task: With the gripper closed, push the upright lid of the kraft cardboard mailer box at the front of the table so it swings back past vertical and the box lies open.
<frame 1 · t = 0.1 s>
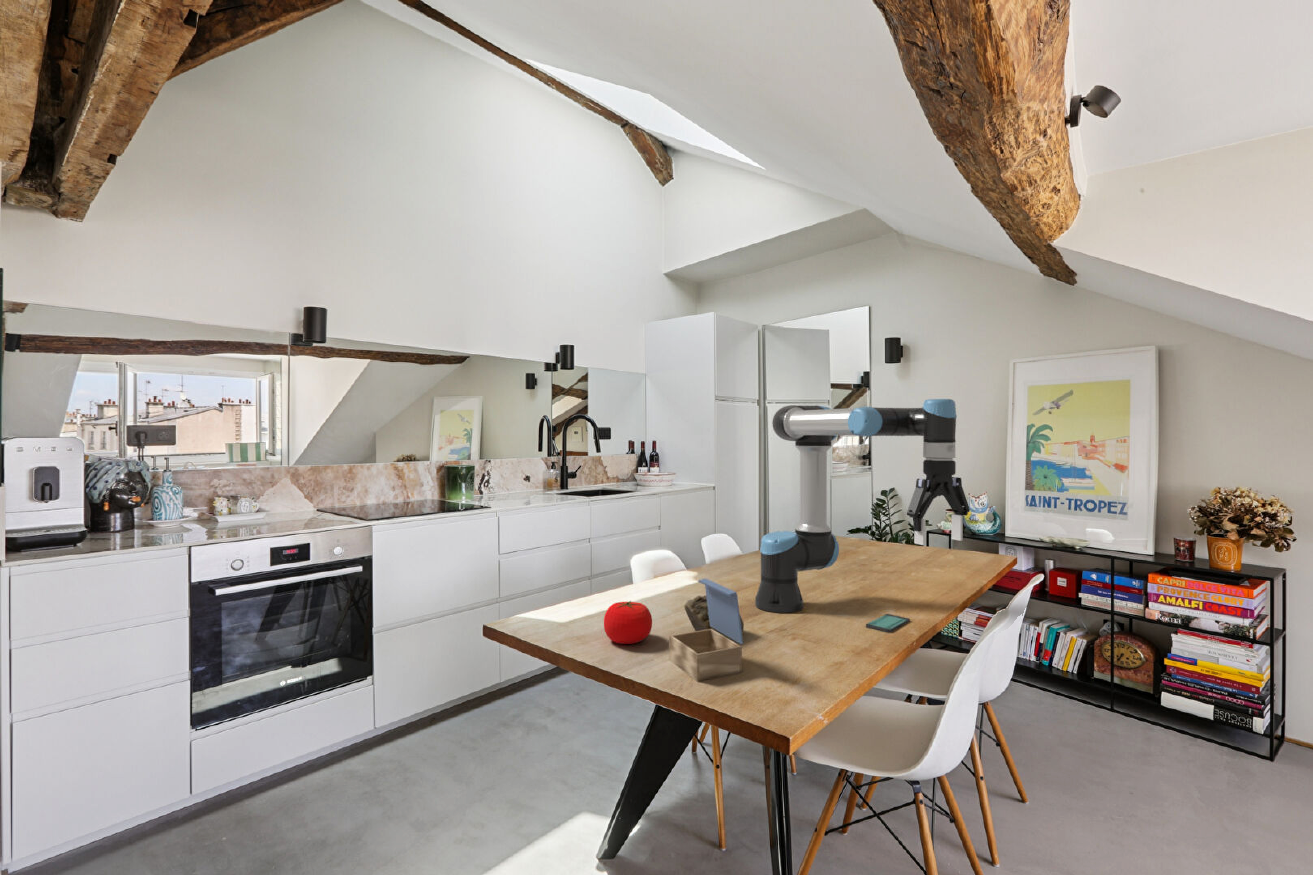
hand: (938, 542, 154), 28 cm above the table, fingers open, 13 cm apart
smartphone: (887, 625, 175), on the table
stone: (716, 637, 164), on the table
lid: (719, 610, 146), point 13 cm above the table, hinge at 82.0°
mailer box: (704, 665, 144), on the table
tomato: (627, 641, 162), on the table
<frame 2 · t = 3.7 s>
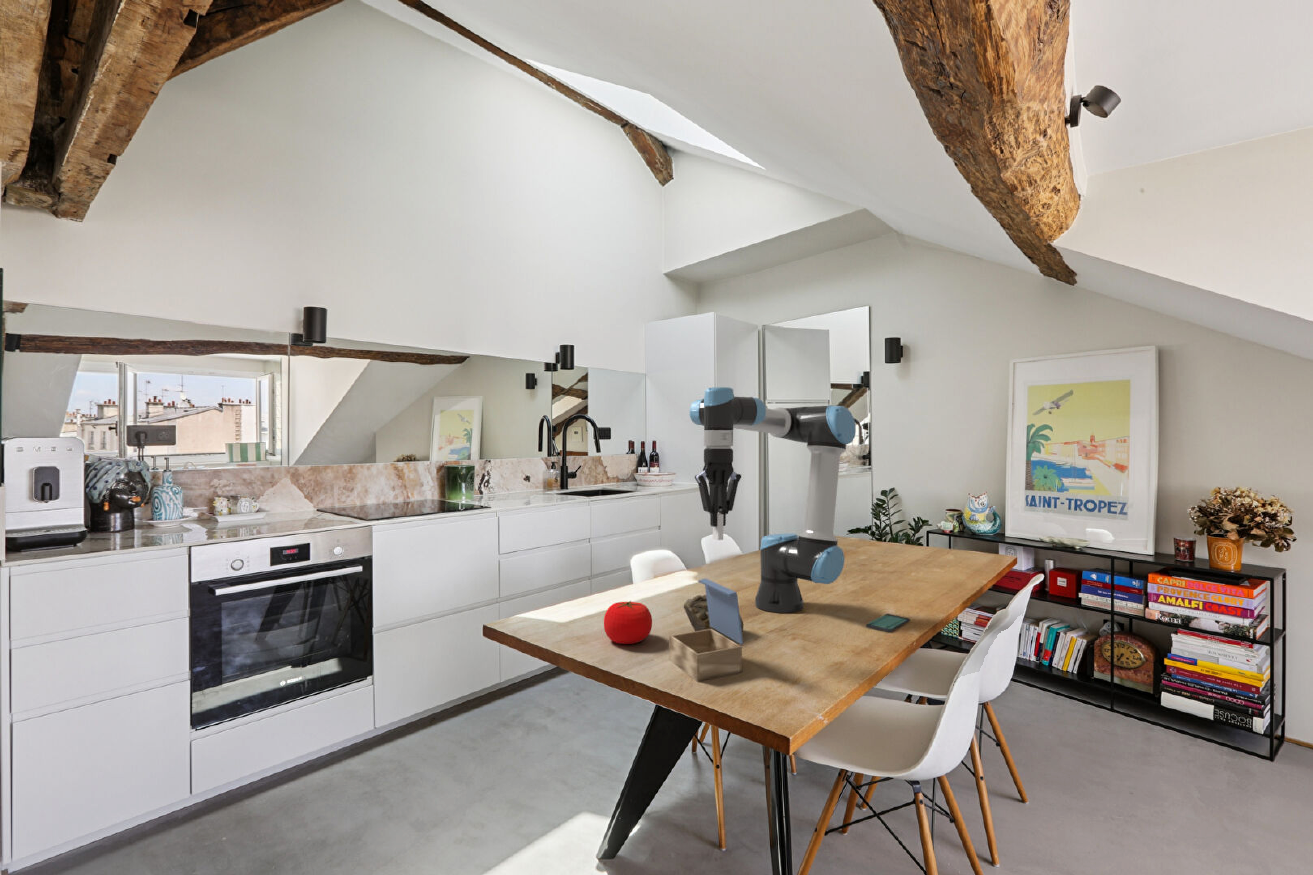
hand: (717, 538, 154), 29 cm above the table, fingers closed
nothing on the table moved.
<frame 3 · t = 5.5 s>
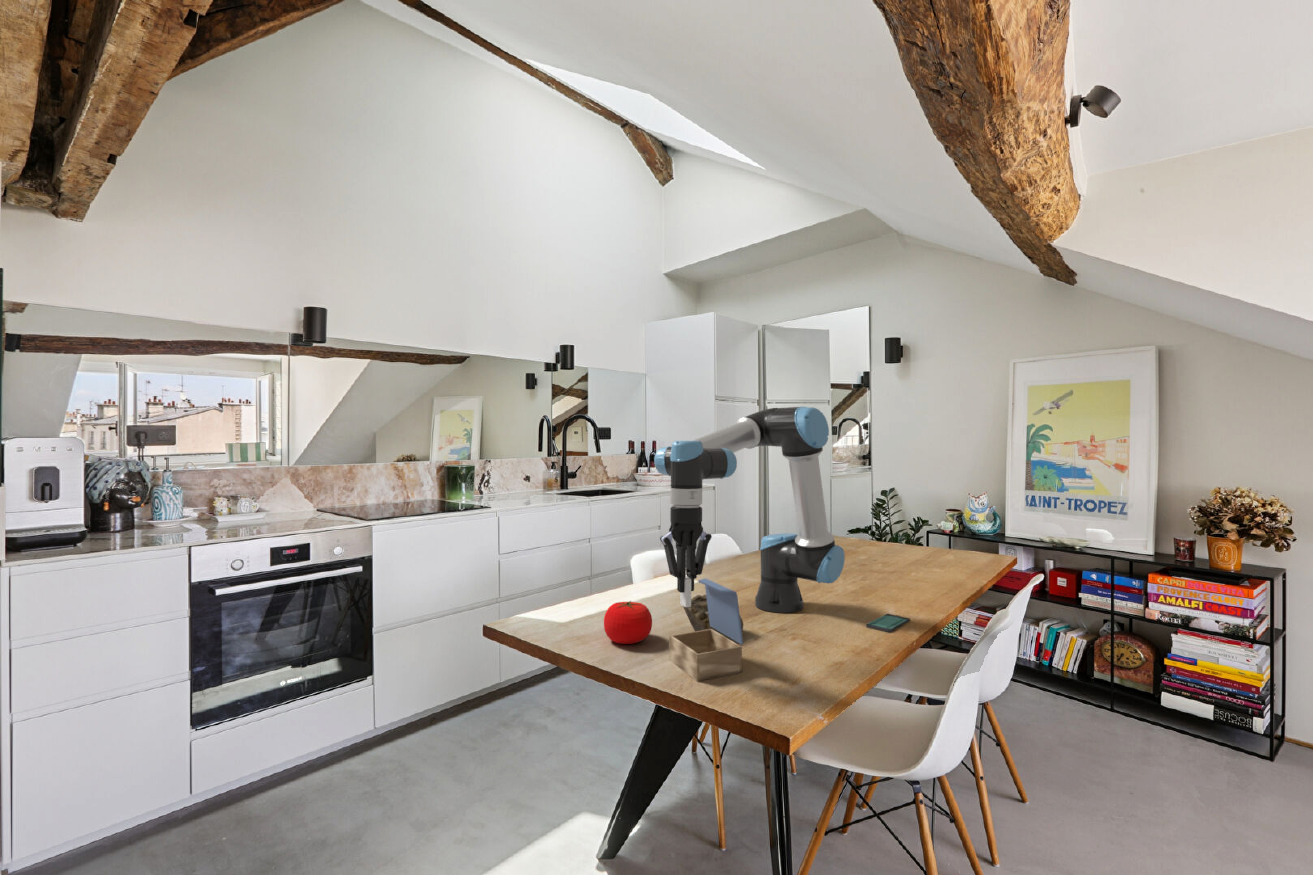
hand: (685, 605, 142), 15 cm above the table, fingers closed
nothing on the table moved.
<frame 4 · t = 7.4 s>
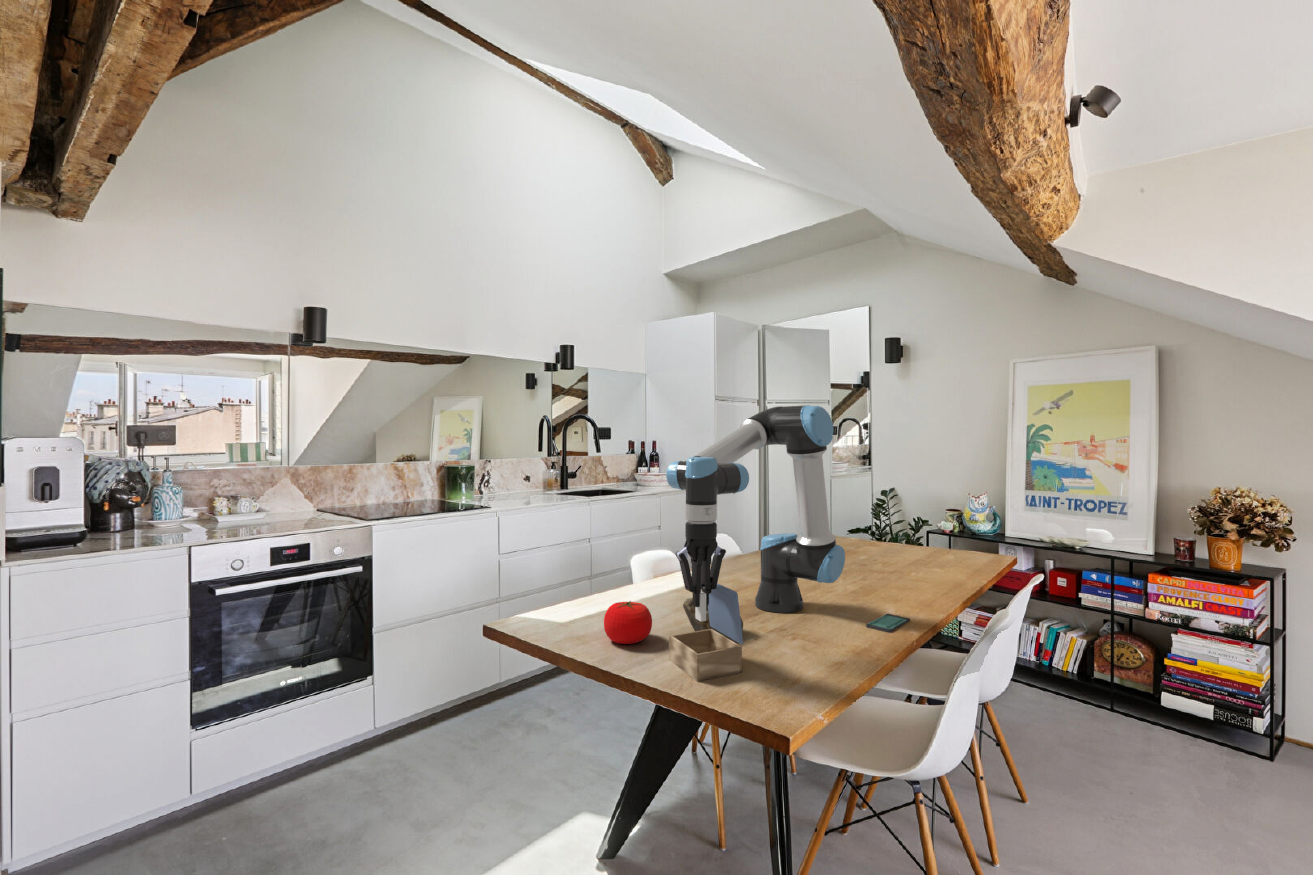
hand: (700, 619, 144), 11 cm above the table, fingers closed
lid: (720, 610, 146), point 13 cm above the table, hinge at 82.7°, touching gripper, hand
everything else where it was.
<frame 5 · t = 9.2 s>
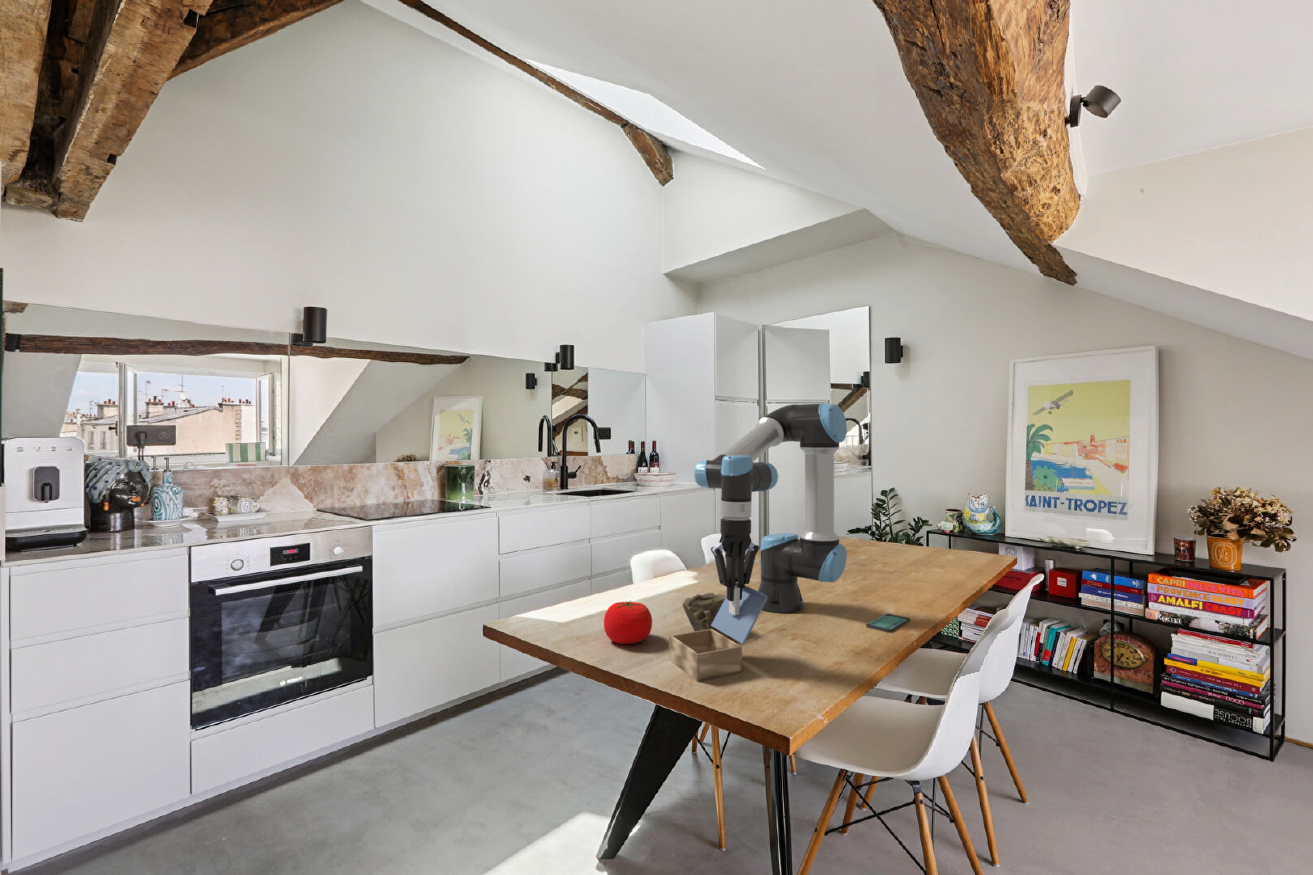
hand: (734, 613, 148), 12 cm above the table, fingers closed
lid: (736, 610, 148), point 12 cm above the table, hinge at 124.0°, touching gripper
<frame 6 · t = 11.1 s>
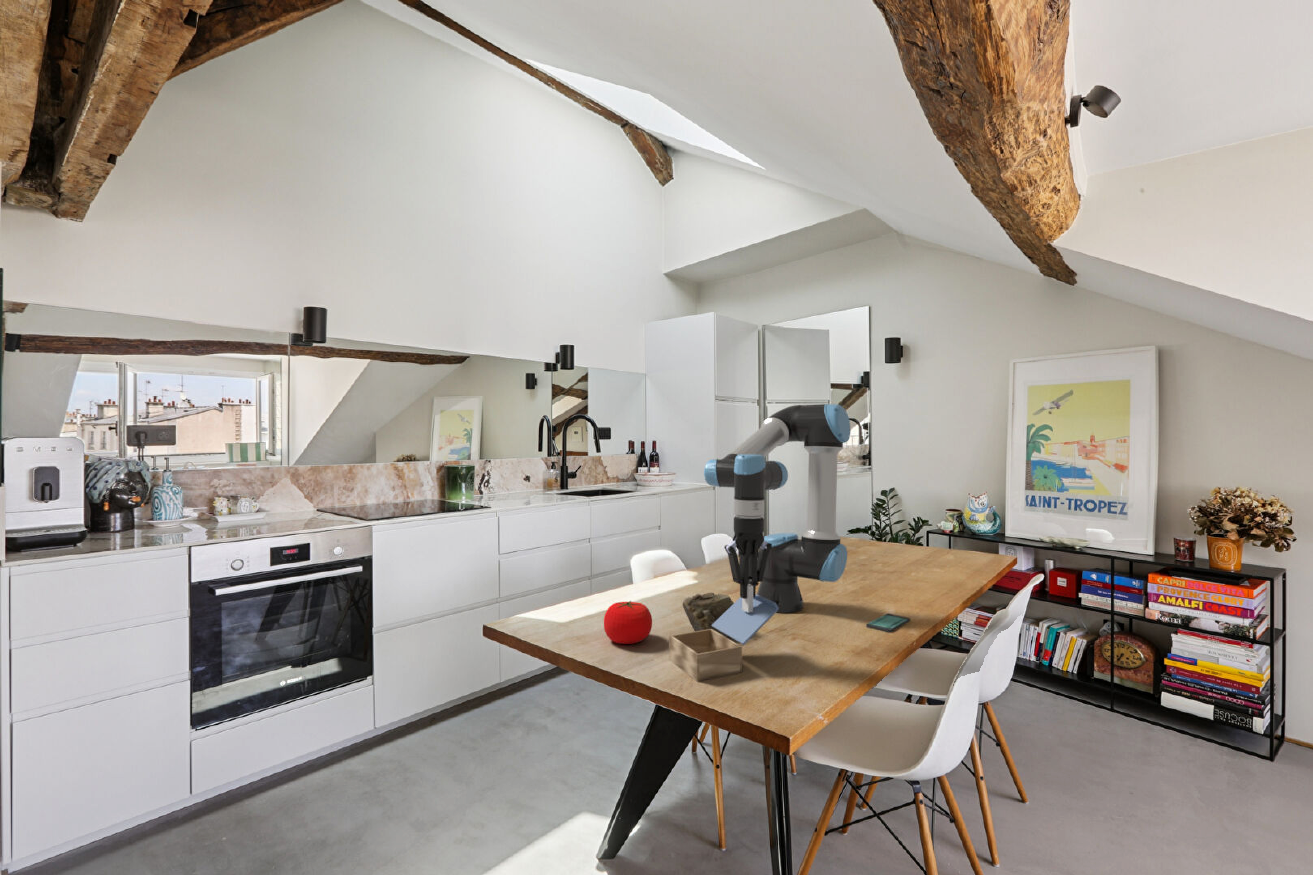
hand: (747, 610, 149), 12 cm above the table, fingers closed
lid: (742, 614, 149), point 11 cm above the table, hinge at 144.8°, touching gripper
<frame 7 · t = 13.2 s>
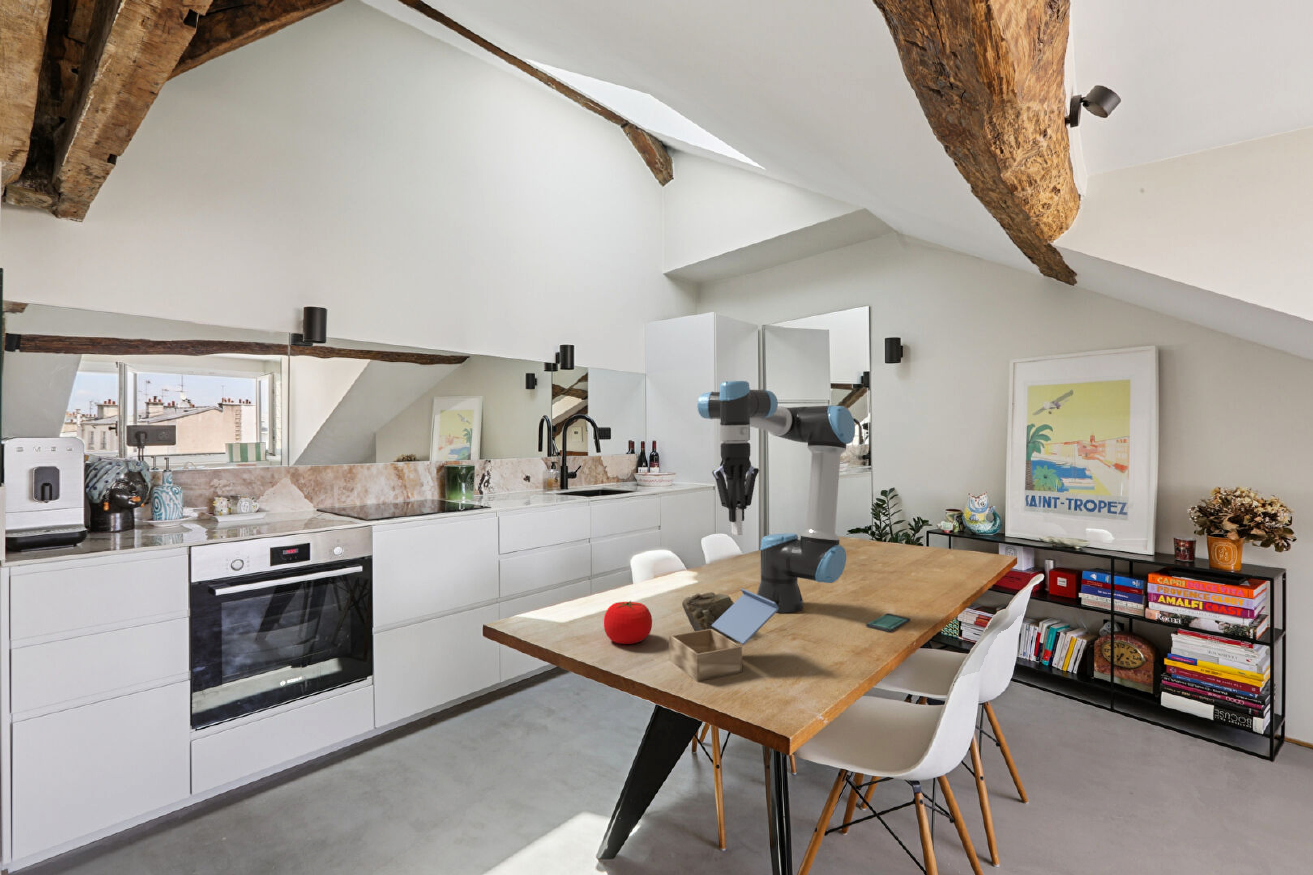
hand: (736, 534, 153), 30 cm above the table, fingers closed
lid: (742, 614, 149), point 11 cm above the table, hinge at 144.9°
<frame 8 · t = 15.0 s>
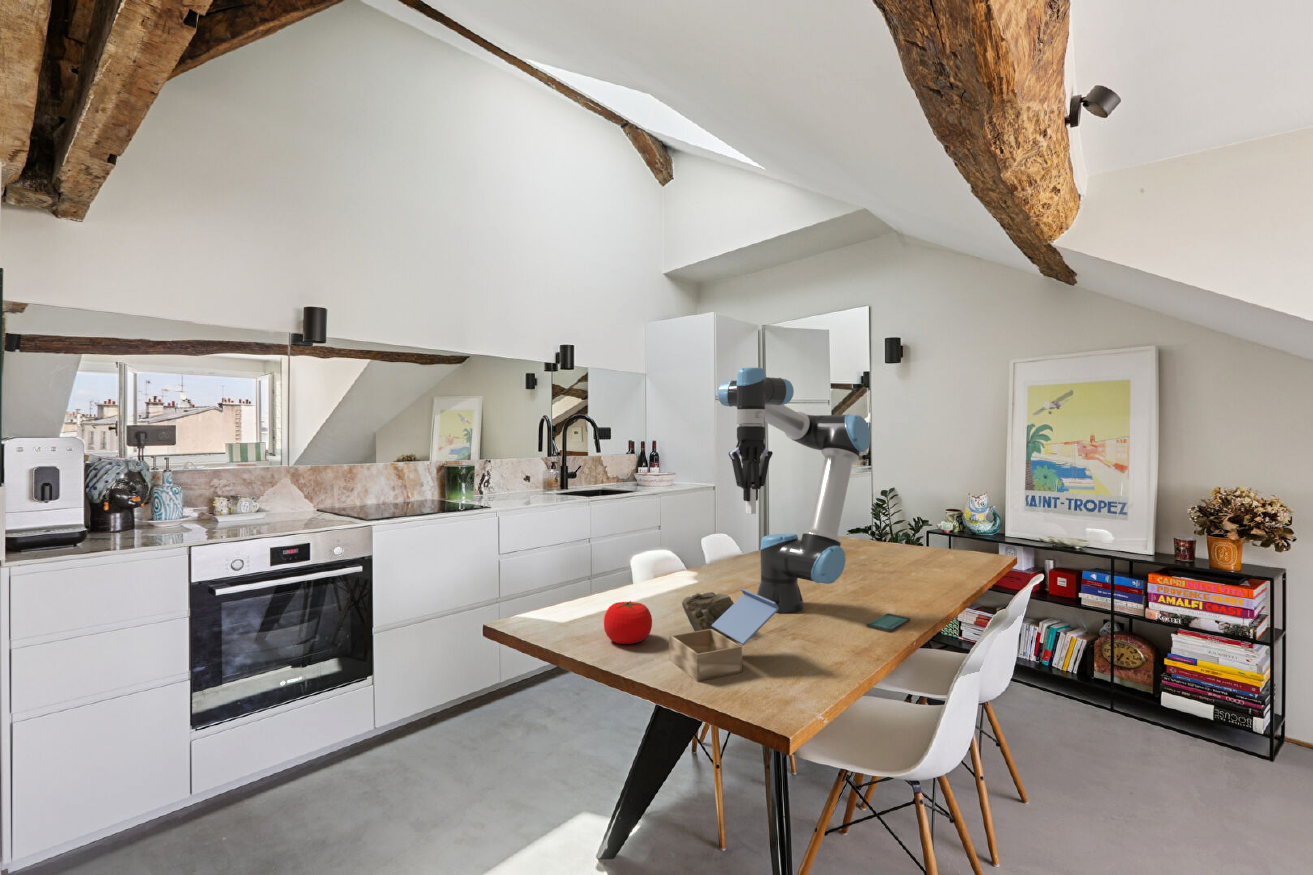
hand: (750, 513, 161), 34 cm above the table, fingers closed
at the end: lid at +145° (first picture: +82°); lid touching nothing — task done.
